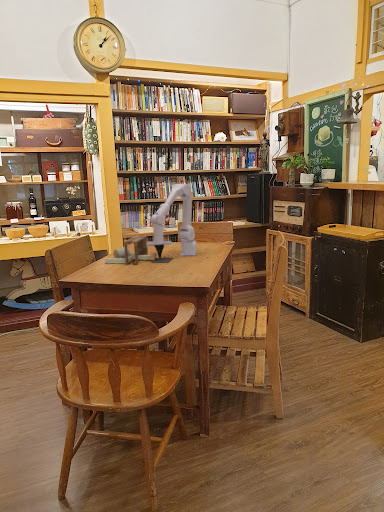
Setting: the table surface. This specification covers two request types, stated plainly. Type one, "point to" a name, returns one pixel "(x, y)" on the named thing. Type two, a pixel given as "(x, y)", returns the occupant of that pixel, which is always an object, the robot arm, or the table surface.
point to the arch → (137, 247)
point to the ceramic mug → (120, 252)
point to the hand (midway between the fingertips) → (159, 257)
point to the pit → (162, 260)
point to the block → (131, 258)
